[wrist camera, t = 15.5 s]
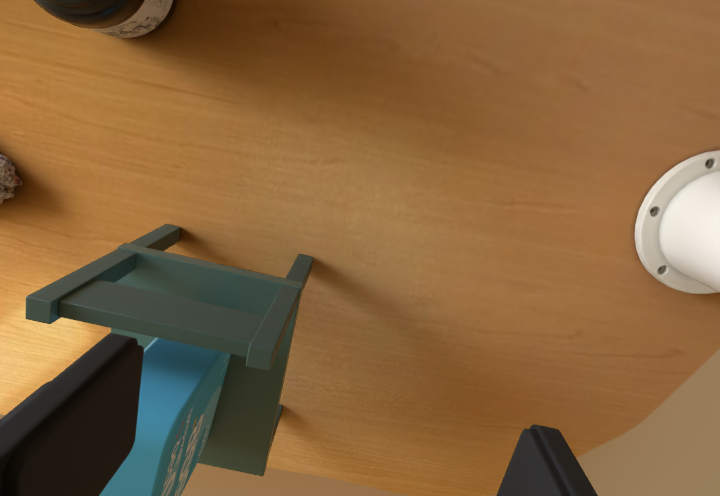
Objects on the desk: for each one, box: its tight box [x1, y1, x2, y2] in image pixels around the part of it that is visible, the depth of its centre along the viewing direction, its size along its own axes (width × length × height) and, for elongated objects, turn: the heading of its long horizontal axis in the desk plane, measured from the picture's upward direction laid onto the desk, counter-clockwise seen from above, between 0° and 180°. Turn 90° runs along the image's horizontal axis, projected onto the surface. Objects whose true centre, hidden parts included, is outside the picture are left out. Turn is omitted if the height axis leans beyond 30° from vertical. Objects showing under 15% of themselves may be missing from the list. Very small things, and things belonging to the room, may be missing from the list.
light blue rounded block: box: [99, 338, 231, 496], centre depth 31 cm, size 12×4×12 cm, turn 162°
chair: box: [26, 224, 313, 476], centre depth 35 cm, size 14×18×17 cm
